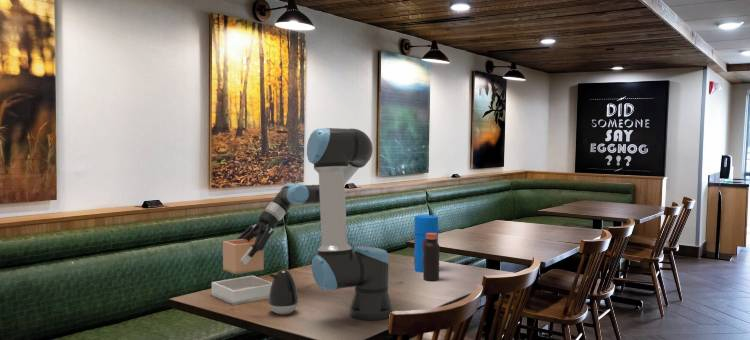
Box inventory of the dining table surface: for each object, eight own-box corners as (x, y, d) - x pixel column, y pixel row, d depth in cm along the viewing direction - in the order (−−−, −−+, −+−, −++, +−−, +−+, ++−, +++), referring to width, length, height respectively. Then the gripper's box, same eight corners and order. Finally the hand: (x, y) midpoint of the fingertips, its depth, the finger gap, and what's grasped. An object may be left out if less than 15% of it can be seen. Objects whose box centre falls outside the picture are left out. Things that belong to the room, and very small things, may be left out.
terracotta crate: (263, 269, 230) (263, 241, 230) (235, 274, 223) (235, 245, 222) (250, 265, 238) (250, 237, 237) (223, 269, 230) (222, 241, 229)
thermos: (442, 270, 276) (442, 216, 275) (428, 273, 269) (428, 218, 267) (423, 266, 284) (424, 214, 282) (409, 270, 276) (409, 216, 275)
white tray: (276, 296, 229) (276, 283, 229) (233, 305, 218) (233, 291, 217) (252, 287, 243) (252, 275, 243) (211, 295, 231) (211, 282, 231)
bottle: (431, 282, 253) (431, 235, 252) (420, 279, 258) (420, 233, 257) (442, 279, 258) (442, 233, 257) (430, 276, 263) (431, 231, 262)
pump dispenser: (263, 311, 210) (263, 268, 209) (289, 306, 216) (289, 265, 215) (276, 318, 202) (275, 274, 201) (303, 313, 208) (303, 270, 207)
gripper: (292, 225, 231) (257, 271, 221) (262, 218, 248) (228, 261, 238) (281, 213, 227) (244, 259, 218) (251, 207, 244) (216, 250, 235)
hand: (236, 260), depth 228 cm, fingers closed on terracotta crate, 10 cm apart
